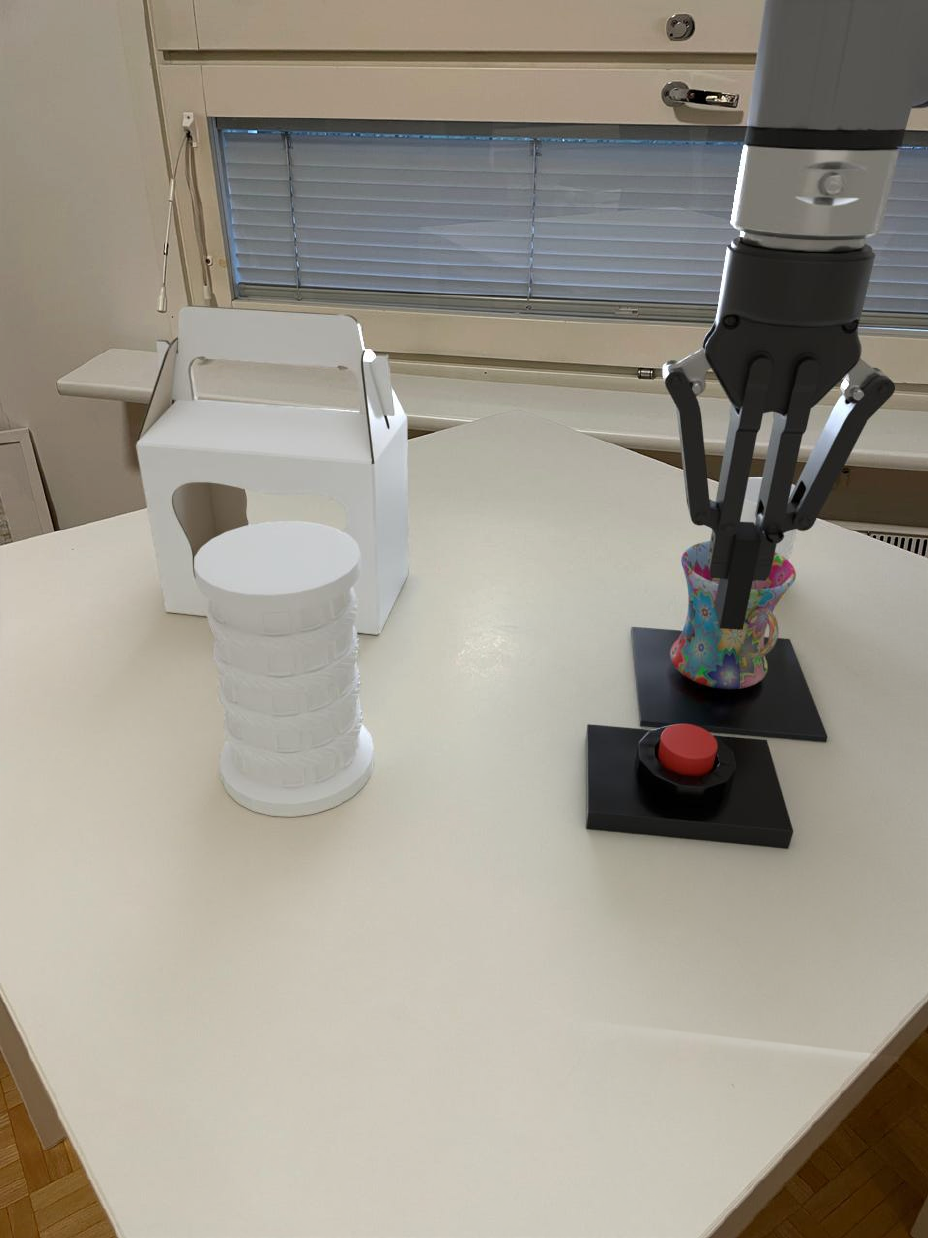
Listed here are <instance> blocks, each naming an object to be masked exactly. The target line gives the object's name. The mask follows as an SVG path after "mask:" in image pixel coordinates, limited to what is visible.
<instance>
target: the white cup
mask: <svg viewBox="0 0 928 1238" xmlns="http://www.w3.org/2000/svg"><path fill="white" fill-rule="evenodd" d="M761 481H762V477H759V476H757V477H756V476H754V477H751V476H749V478H748V483H747V489H746V494H745V499H744V504H743V509H742V514H741V520H740V522H754V525H755V522H756V518H755V512H756V507H757V502H758V497H759V492H760V487H761ZM795 486H796V484H794V483H792V486H791V491H790V496H791V494H792V492H793V490H794V488H795ZM790 496H789V498H790ZM798 533H799V530H797V529H795V530H791V531H787V532H785V533H783V534H784V538H783V540H782V541H781V542H780V543H777V545H776V549H775V552H776V553H778V554H779V555H781V556H783V557H784V558H785V559H787V560H788V561H789V562H790V558H791V555H792V553H793V550H794V547H795V543H796V540H797V536H798Z"/></svg>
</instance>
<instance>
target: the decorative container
mask: <svg viewBox="0 0 928 1238" xmlns="http://www.w3.org/2000/svg"><path fill="white" fill-rule="evenodd" d="M194 571H195V578H196V584H197V586H198V588H199V590H200V591H201V593H202V594H203V595H204V596H206V597H207V598H208V599H210V600H209V601H208V608H207V616H206V618H207V623H208V625H209V627H210V630H211V632H212V634H213V636H214V638H215V639H214V641H213V647H212V648H213V649H212V657H213V663H214V665H215V668H216V669H217V671H218V674H219V675H220V678H219V684H218V691H217V692H218V697H219V698H218V699H219V701H220V704H221V705H222V708H223V710H224V712H225V714H224V721H223V731H224V736H225V738H226V740H225V742H224V744H223V746H222V749H221V751H220V753H219V771H220V777H221V782H222V784H223V786H224V788H225V791H226V792H227V794H228V795H229V796H230V797H231V798H232V799H233V800H234V801H235V802H236V803H237V804H239V805H240V806H242V807H244V808H246V809H247V810H249V811H252V812H255V813H259V814H263V815H266V816H271V817H287V818H288V817H289V818H295V817H296V818H297V817H303V816H308V815H316V814H318V813H322V812H324V811H328V810H331V809H334V808H336V807H337V806H339V805H341V804H343V803H345V802H346V801H348V800H350V799H352V798H353V797H354V796H355V795H356V794H358V792H360V790H361V789H363V787H365V785H366V783H367V782H368V780H369V778H370V777H371V775H372V773H373V769H374V764H375V747H374V743H373V738H372V734H371V733H370V732H369V730H368V729H367V727H366V726H365V725H364V724H363V722H362V721H363V720H364V717H363V716H362V714H363V709H362V705H361V702H360V699H359V694H360V691H361V685H362V682H361V680H360V679H361V678H362V676H361V675H360V669H359V668H358V667H359V666H358V663H357V660H358V655H359V648H360V645H359V642H360V638H359V637H358V633H357V632H356V628H355V626H354V625H353V624H354V621H355V617H356V609H357V608H358V607H357V606H356V602H357V600H356V597H355V596H356V595H355V593H354V589H353V587H352V586H353V585H354V584H355V583H356V582H357V581H358V579H359V576H360V572H361V553H360V550H359V547H358V544H357V543H356V542H355V541H354V539H353V538H352V537H351V536H350V535H348V534H346V533H344V532H343V531H342V530H341V529H339V528H336V527H332V526H330V525H326V524H323V523H317V522H310V521H301V520H299V521H298V520H278V521H276V520H275V521H264V522H259V523H254V524H253V523H252V524H250V525H247V526H243V527H240V528H237V529H233V530H230V531H227V532H225V533H223V534H221V535H219V536H217V537H215V538H213V539H211V540H210V541H209V542H207V543H206V544H205V545H203V546H202V547H201V548H200V550H199V551H198V553H197V554H196V556H195V557H194Z"/></svg>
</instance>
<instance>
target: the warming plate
mask: <svg viewBox="0 0 928 1238" xmlns="http://www.w3.org/2000/svg"><path fill="white" fill-rule="evenodd" d="M682 631H683V630H682V629H681V630H680V629H678V630H677V629H666V628H653V627H644V626H643V627H642V626H631V628H630V634H631V645H632V656H633V666H634V667H633V669H634V677H635V687H636V697H637V709H638V718H639V719H638V721H639V726H640V727H646V728H655V729H658V728H661V727H665V726H670V725H675V724H690V725H695V726H698V727H701V728H703V729H705V730H707V731H708V732H709V733H713V734H726V735H737V736H750V737H762V738H771V739H772V738H773V739H781V740H782V739H784V740H794V741H795V740H796V741H805V742H806V741H807V742H817V743H818V742H819V743H827V742H828V738H829V737H828V734H827V731H826V728H825V726H824V723H823V721H822V718H821V716H820V713H819V711H818V708H817V705H816V703H815V701H814V698H813V697H814V696H813V695H812V692H811V690H810V688H809V685H808V682H807V680H806V677H805V675H804V674H805V673H804V672H803V669H802V666H801V663H800V661H799V658H798V656H797V653H796V651H795V649H794V646H793V643H792V640H791V638H783V637H778V639H777V642H776V644H775V646H774V647H773V648H772V650H771V651H770V652H768V653H767V654H766V655H765V659H766V661H767V667H768V668H767V673H766V675H765V677H764V678H763V679H762V680H761V681H760V682H758V683H757V684H755V685H752V686H750V687H746V688H741V689H719V688H713V687H709V686H705V685H702V684H700V683H697V682H695V681H693V680H691V679H689V678H687V677H686V676H684V675H683V674H682V673H680V672H679V671H678V670H677V669H676V667H675V666H674V664H673V663H672V661H671V657H670V650H671V648H672V646H673V644H674V643H675V642H676V641H677V639H678V638H679V637H680V635H681V633H682ZM768 638H769V636H764V646H765V645H766V643H767V641H768Z"/></svg>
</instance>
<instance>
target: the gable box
mask: <svg viewBox="0 0 928 1238" xmlns="http://www.w3.org/2000/svg"><path fill="white" fill-rule="evenodd" d="M177 321H178V322H177V323H178V325H177V328H178V330H177V332H178V333H177V337H176V338H174V339H173V340H172V341H171V342H170V341H169V340H166V339H157V340H156V354H157V355H156V356H157V366H158V367H157V368H158V374H157V377H156V380H155V383H154V387H153V389H152V393H151V395H150V398H149V401H148V404H147V408H146V410H145V414H144V416H143V419H142V422H141V426H140V429H139V431H138V434H137V438H136V441H135V449H136V454H137V455H136V456H137V461H138V466H139V471H140V478H141V482H142V487H143V493H144V499H145V504H146V510H147V516H148V522H149V526H150V532H151V533H150V534H151V537H152V538H151V539H152V543H153V550H154V554H155V560H156V565H157V572H158V576H159V582H160V587H161V593H162V599H163V604H164V611H166V612H167V613H170V614H180V615H188V616H189V615H190V616H199V617H207V608H208V601H209V600H210V599H208V598H207V597H206V596H204V595H203V594H202V593H201V591H200V590H199V588H198V586H197V584H196V578H195V571H194V557H195V556H196V554H197V553H198V551H199V550H200V548H201V547H202V546H203V545H205V544H206V543H207V542H209V541H210V540H211V539H213V538H215V537H217V536H219V535H221V534H223V533H225V532H227V531H230V530H233V529H237V528H240V527H243V526H247V525H251V523H250V521H249V520H248V515H247V510H248V509H247V508H248V498H247V497H248V496H247V492H246V491H249V492H254V493H259V494H265V495H272V496H285V495H286V496H289V495H313V496H320V497H325V498H328V499H330V500H332V501H335V502H336V503H337V504H339V505H340V506H341V507H342V508H343V510H344V512H345V518H346V519H345V520H346V521H345V525H344V529H343V531H342V532H344V533H346V534H348V535H350V536H351V537H352V538H353V539H354V541H355V542H356V543H357V544H358V547H359V550H360V553H361V572H360V576H359V579H358V581H357V582H356V583H355V584H354V585H353V586H352V587H353V589H354V593H355V595H356V596H355V597H356V600H357V602H356V606H357V607H358V608H357V609H356V617H355V621H354V624H353V625H354V626H355V628H356V632H357V634H365V635H375V636H378V635H380V634H381V632H382V631H383V628H384V626H385V623H386V622H387V620H388V618H389V615H390V613H391V611H392V609H393V607H394V605H395V603H396V601H397V598H398V597H399V594H400V592H401V590H402V589H403V586H404V583H405V582H406V579H407V577H408V575H409V573H410V538H409V537H410V534H409V533H410V531H409V530H410V529H409V528H410V525H409V445H408V438H409V437H408V417H407V414H406V413H405V410H404V408H403V406H402V405H401V403H400V401H399V399H398V397H397V395H396V393H395V391H394V389H393V384H392V376H391V375H392V374H391V365H390V357H389V356H390V355H389V354H382V353H381V354H380V353H379V354H377V355H376V354H375V352H374V351H373V350H372V349H370V348H369V349H365V346H364V340H363V328H364V326H363V325H362V324H360V322H359V321H358V319H357V318H356V317H355V316H353V315H351V314H342V313H341V314H340V313H327V312H326V313H325V312H307V311H291V310H274V309H259V308H258V309H257V308H243V307H241V308H240V307H226V306H225V307H224V306H209V305H193V304H192V305H191V304H190V305H185V306H184V307H182V308H180V310H179V312H178V320H177ZM197 359H198V360H200V361H205V362H207V361H208V360H218V361H230V362H231V361H232V362H233V361H234V362H246V363H247V362H248V363H259V364H260V363H261V364H262V363H263V364H276V365H290V366H307V367H320V368H333V369H334V368H335V369H336V368H337V369H338V370H339V371H347V370H350V371H351V372H352V373H353V374H354V375H355V377H356V379H357V383H358V404H359V411H358V410H345V409H333V408H320V407H319V408H317V407H307V406H306V407H304V406H291V405H280V404H279V405H277V404H265V403H264V404H263V403H251V402H238V401H226V400H225V401H224V400H213V399H212V400H210V399H199V396H198V390H197V385H196V381H195V374H194V369H193V363H194V362H195V361H196V360H197Z"/></svg>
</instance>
